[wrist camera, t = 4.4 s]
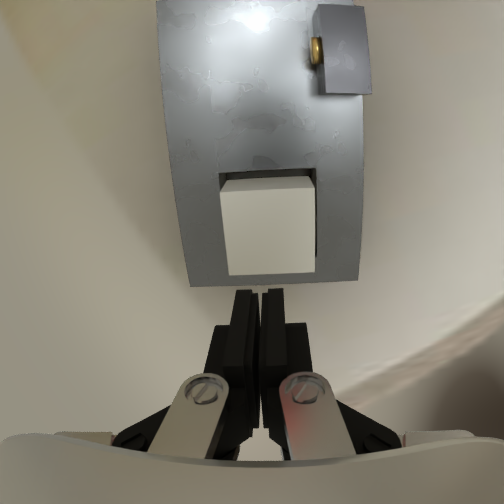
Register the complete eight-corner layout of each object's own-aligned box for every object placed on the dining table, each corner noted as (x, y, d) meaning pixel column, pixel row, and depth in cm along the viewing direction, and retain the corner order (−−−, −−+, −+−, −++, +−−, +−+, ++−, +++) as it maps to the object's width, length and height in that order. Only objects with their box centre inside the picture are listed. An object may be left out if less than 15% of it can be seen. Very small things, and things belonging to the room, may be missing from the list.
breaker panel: (341, 0, 16) (363, -31, 11) (349, 261, 25) (367, 304, 19) (170, 12, 17) (138, -13, 12) (198, 267, 26) (180, 310, 20)
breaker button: (308, 175, 19) (314, 187, 17) (309, 250, 21) (314, 272, 19) (227, 180, 20) (219, 192, 17) (234, 253, 22) (229, 275, 19)
